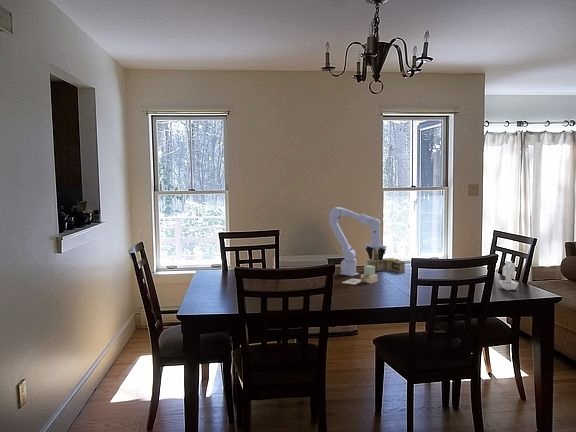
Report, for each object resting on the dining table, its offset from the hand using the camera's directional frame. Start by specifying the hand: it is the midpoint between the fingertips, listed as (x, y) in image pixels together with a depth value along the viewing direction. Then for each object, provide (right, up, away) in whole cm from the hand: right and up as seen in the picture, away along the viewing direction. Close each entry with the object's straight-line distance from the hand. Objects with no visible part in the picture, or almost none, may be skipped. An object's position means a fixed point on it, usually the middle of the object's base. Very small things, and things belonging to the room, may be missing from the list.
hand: (375, 259), depth 281 cm
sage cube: (-7, -7, -15) cm, 18 cm away
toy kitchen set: (+9, -9, +11) cm, 17 cm away
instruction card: (-16, -12, -14) cm, 24 cm away
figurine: (+63, -12, -41) cm, 76 cm away
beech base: (-7, -11, -15) cm, 20 cm away
